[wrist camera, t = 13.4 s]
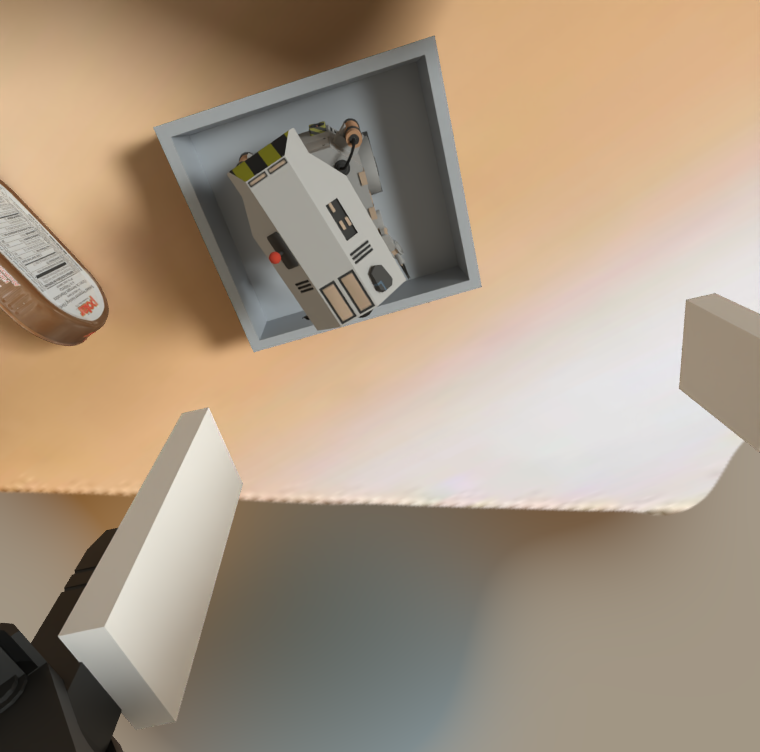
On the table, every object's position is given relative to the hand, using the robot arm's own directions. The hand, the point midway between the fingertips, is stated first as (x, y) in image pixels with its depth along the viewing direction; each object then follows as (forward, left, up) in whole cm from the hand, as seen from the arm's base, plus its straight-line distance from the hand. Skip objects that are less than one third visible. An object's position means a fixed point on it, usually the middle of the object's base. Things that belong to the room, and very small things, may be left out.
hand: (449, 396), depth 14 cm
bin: (-2, -3, -29) cm, 30 cm away
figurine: (-2, -4, -29) cm, 29 cm away
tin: (-6, -26, -30) cm, 40 cm away
